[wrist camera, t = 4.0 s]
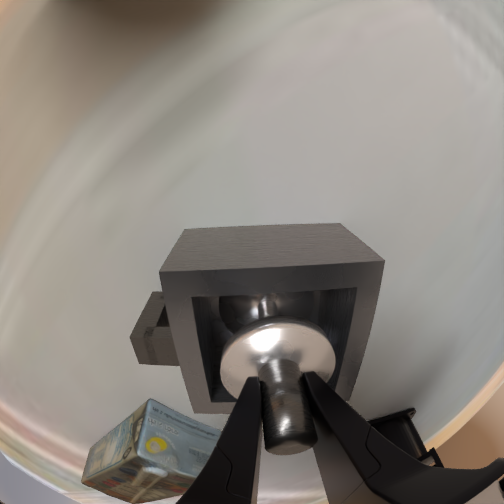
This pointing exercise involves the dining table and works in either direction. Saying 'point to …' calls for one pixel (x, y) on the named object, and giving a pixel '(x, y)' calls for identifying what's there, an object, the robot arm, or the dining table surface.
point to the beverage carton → (150, 455)
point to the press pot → (257, 282)
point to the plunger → (276, 361)
